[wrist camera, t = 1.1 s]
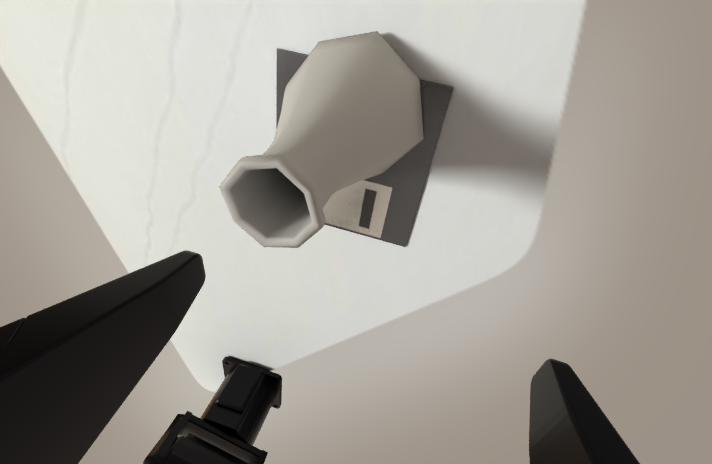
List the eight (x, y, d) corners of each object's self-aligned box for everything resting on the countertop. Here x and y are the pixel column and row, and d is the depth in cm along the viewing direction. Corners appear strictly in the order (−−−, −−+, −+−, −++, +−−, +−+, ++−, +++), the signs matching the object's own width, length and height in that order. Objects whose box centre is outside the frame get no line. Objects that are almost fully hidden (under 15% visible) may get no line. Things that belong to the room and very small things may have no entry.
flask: (447, 145, 18) (428, 271, 10) (333, 189, 22) (254, 309, 14) (387, -3, 15) (298, 18, 7) (266, 75, 19) (116, 146, 11)
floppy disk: (405, 246, 23) (405, 248, 23) (276, 210, 24) (275, 211, 24) (453, 87, 17) (453, 88, 17) (277, 48, 18) (275, 49, 18)
